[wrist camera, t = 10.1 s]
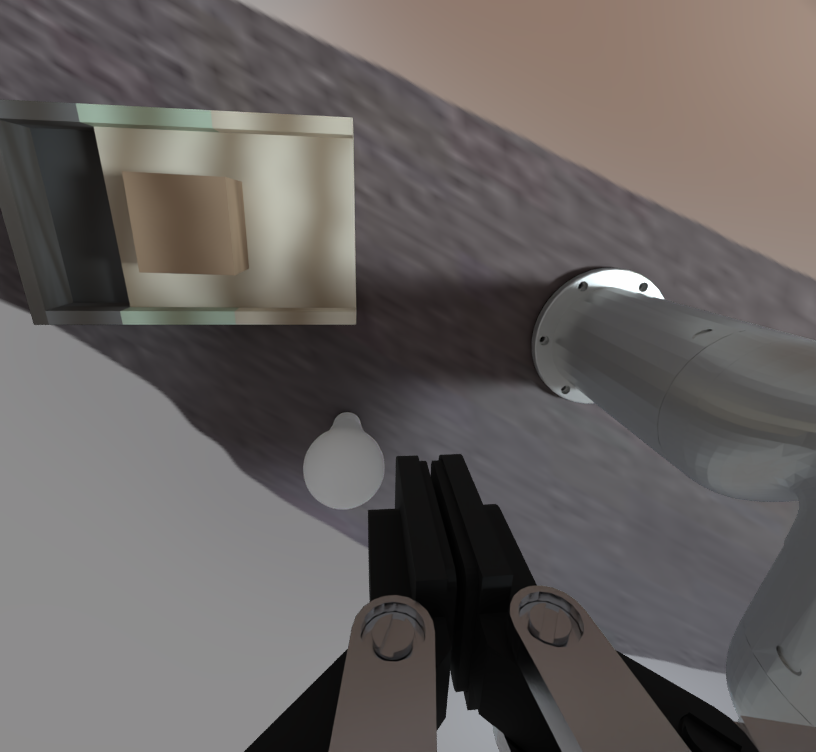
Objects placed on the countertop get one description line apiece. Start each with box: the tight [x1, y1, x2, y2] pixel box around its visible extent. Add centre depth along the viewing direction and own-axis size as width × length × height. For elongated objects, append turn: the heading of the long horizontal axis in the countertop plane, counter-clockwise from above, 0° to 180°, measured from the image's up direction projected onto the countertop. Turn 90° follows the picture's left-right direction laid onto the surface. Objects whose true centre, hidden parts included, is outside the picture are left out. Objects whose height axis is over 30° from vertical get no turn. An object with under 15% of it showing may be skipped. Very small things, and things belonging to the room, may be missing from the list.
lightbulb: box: [303, 412, 385, 509], centre depth 35 cm, size 6×6×11 cm
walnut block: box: [122, 171, 249, 275], centre depth 29 cm, size 6×6×4 cm
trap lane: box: [0, 100, 356, 325], centre depth 31 cm, size 23×14×4 cm, turn 88°
